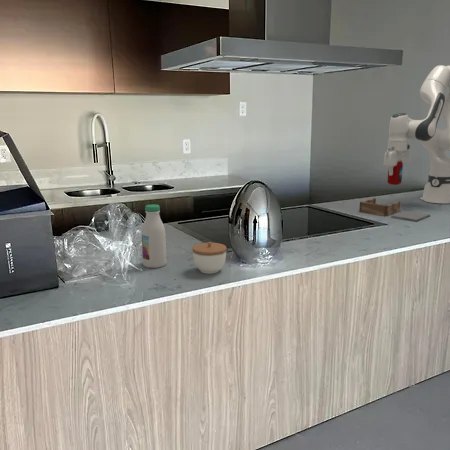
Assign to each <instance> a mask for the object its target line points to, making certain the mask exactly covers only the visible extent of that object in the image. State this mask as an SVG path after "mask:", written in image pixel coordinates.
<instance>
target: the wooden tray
mask: <svg viewBox="0 0 450 450" xmlns="http://www.w3.org/2000/svg"><path fill="white" fill-rule="evenodd" d="M376 201H377V198H374V197H373V198H370V199H366V200H363V201H359V209H358V211H359V213H364V214H370V215H376V216H381V217H389V216H392V215H394V214H397V213H400V211H401V210H400V209H401V208H400V207H401V201H396V202H392V203H390V204H387V205H385V204H378V203H377V202H376Z"/></svg>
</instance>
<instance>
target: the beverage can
mask: <svg viewBox="0 0 450 450" xmlns="http://www.w3.org/2000/svg"><path fill="white" fill-rule="evenodd" d="M403 165H404V164H403V163H402V160H401V161H398V162H397V165H396V166H394V167H393V172H394V175H389V170H387V183H388V184H389V185H391V186H392V185H394V186H397V185H398V186H399V185H400V184H402V180H403V179H402V178H403V168H404V166H403Z"/></svg>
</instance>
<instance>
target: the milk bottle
mask: <svg viewBox="0 0 450 450" xmlns="http://www.w3.org/2000/svg"><path fill="white" fill-rule="evenodd" d="M144 207H145V208H144V210H145V219H144V221H143V225H142V228H141V251H142V252H141V253H142V264H143V266H144V267H146V268H148V269H155V268H156V269H158V268H162V267H165V266H166V265H167V240H166V237H167V235H166V229H165V225H164V223H163V221H162V219H161V215H160V211H161V210H160V209H161V208H160V207H161V206H160V205H159V204H146V205H145V206H144Z"/></svg>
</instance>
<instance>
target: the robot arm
mask: <svg viewBox="0 0 450 450" xmlns="http://www.w3.org/2000/svg"><path fill="white" fill-rule="evenodd" d="M447 88H448V92H447V94H446V96H445V94H444V92H445V91H446V89H447ZM419 96H420V98H421V99H422V101H424V102H425V103H426V104H428V105H430V107H429V111H428V114H427V116H426V117H425V118H423V119H412V118H410V117H409V116H408V114H407V112H400V113H394V114H393V115H391V117H390V120H389V126H388V134H389V136H388V139H387V150H386V152H385V153H384V156H383V157H384V158H383V162H382V165H383V167H384V168H387V169H388V170H389V175H394V172H393V167H394V166H396V165H397V162H398V161H401V160H402V163H403V165H406V164H407V163H408V162H409V158H410V157H409V156H410V150H411V145H410V144H409V143H408V140H416V141H420V144H421V145H422V147H424V149H425V150H426V151H427V153H428V156H429V162H430V163H429V175H428V177H427V183H426V184H425V185H424V189H423V194H422V195H423V196H421V197H420V198H419V199H420V200H421V201H423V202H427V203H431V204H432V203H433V204H450V157H449V156H448V155H447V152H446V151H450V65H441V64H439V65H436V66H435V67H434V68H433V69H432V70H431V71H430V72H429V73H428V75H427V76H426V78H425V79H424V81H423V82H422V84H421V87H420V89H419ZM440 118H441V120H442V121H443V122H444V123H445V128H437V126H438V122H439V120H440ZM388 170H387V171H388Z"/></svg>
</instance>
